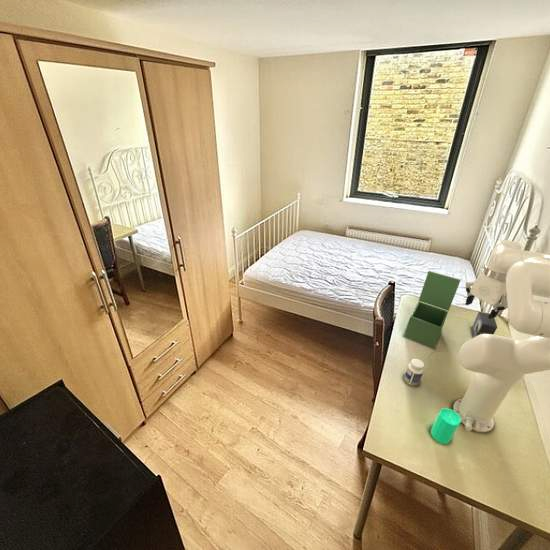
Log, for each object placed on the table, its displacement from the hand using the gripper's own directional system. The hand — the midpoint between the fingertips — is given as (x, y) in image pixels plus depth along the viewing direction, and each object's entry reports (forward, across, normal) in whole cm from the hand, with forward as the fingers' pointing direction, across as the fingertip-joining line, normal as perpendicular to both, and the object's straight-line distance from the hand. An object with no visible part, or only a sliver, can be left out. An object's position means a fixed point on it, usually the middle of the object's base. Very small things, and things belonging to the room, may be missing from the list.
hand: (479, 310), depth 116 cm
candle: (+27, +22, -37) cm, 51 cm away
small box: (+26, -7, +24) cm, 36 cm away
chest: (+26, -18, -1) cm, 32 cm away
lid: (+5, -22, +5) cm, 23 cm away
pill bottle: (+27, +1, -28) cm, 39 cm away
